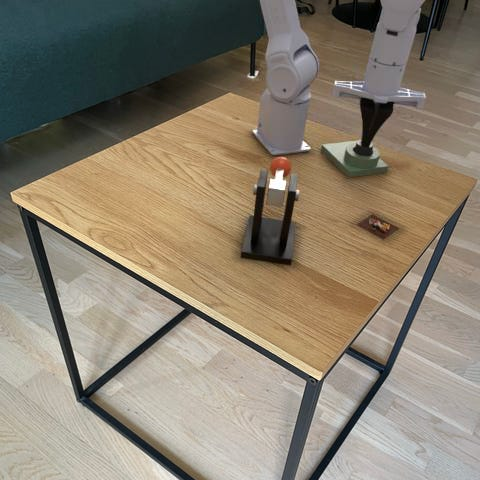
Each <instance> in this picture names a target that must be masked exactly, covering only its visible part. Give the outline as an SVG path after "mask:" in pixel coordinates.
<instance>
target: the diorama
mask: <svg viewBox="0 0 480 480" xmlns="http://www.w3.org/2000/svg"><path fill="white" fill-rule="evenodd" d="M355 225H356V226H357V227H360V228H362V229H363V230H365V231H367V232H369V233H371V234H372V235H374V236H376V237H378V238H380V239H382V240H383V241H384V240H386V239H387V238H388V237H390V236H392V235H393V234H394V233H396V232H397V231H398V230H400V229H401V228H399V227H398V226H396V225H394V224H393V223H390V222H388V221H386V219H385V220H384V219H383V218H382V217H379V216H377V215H375V214H373V213H372V214H370V215H368V216H367V217H366V218H364V219H362V220H361V221H359V222H358V223H356V224H355Z"/></svg>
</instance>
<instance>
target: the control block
mask: <svg viewBox="0 0 480 480" xmlns="http://www.w3.org/2000/svg"><path fill="white" fill-rule="evenodd" d="M357 141H358V140H349V141H341V142H332V143H326V144H322V145H321V148H320V152H321V153H323V154H324V155H325V157H327V159H329V161H331V162H332V163H333V164H334V166H336V167H337V168H338V170H340V171H341V172H342V173H343V174H344V175H345V176H346V177H347V178H355V177H361V176H362V177H364V176H371V175H377V174H383V173H387V172H388V170H389V165H388V164H387V163H386V162H385V161H383V160H382V159H381V158H380V157H381V152H380V150H379V149H378V148H376V147H375V146H373V150H372V153H371V156H362V155H358V154H356V153H355V152H354V150H355V146H356V142H357Z"/></svg>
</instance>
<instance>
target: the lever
mask: <svg viewBox="0 0 480 480" xmlns="http://www.w3.org/2000/svg"><path fill="white" fill-rule="evenodd" d="M269 170H270V173H271V175H272V176H273V177H274V178H270V179H269V182H268V188H267V194H266V200H265V201H266V202H265V204H266V205H267V206H274V207H281V208H282V207H283V206H284V200H285V194H286V187H287V180H283V179H285V178H287V177H288V176H289V175H290V174H291V172H292V171H291V170H292V164H291V161H290V160H289V159H287V158H286V157H284V156H277V157H275V158H274V159H273V160H272V161H271V163H270V167H269Z"/></svg>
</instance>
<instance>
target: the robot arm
mask: <svg viewBox="0 0 480 480" xmlns="http://www.w3.org/2000/svg"><path fill="white" fill-rule="evenodd" d="M425 1H426V0H380V5H381V7H382V8H381V11H380V16H379V21H378V23H377V25H376V28H375V32H374V37H373V41H372V45H371V49H370V52H369V57H368V61H367V65H366V69H365V73H364V78H363V81H340V80H335V81H334V84H333V89H332V93H331V94H332V98H334V99H339V98H347V99H353V100H359V109H360V115H361V122H362V124H361V125H362V128H361V129H362V130H361V139H360V140H361V145H362V146H368V147H369V146H370V144H371V142H372V143H373V140H374V138H375V136H376V135H377V133H378V131H379V130H380V129H381V127H383V125H384V124H385V122H387V120H388V119H389V118H390V117H391V116H392V114H393V113H394V105H398V106H399V105H400V106H405V107H414V109H416V110H423V108H424V105H425V103H426V101H427V95H426V93H425V92H422V91H416V90H412V89H408V88H404V87H401V84H402V81H403V76H404V74H405V71H406V66H407V64H408V61H409V57H410V54H411V50H412V46H413V44H414V40H415V36H416V33H417V25H418V23H419V21H420V17H421V11H422V8H421V7H422V5H423V4H424V3H425ZM259 4H260V8H261V13H262V16H263V20H264V25H265V28H266V32H267V38H268V42H267V47H266V51H265V56H264V59H265V64H266V75H265V85H266V89H265V90H264V91H263V93H262V94H261V96H260V100H259V109H258V117H257V125H256V126H257V127H256V129H253V130H252V134H253V136H255V138H256V139H257V140H258V141H259V143H260V144H262V146H263V147H264V148H265V150H267V151H268V153H270V155H271V156H279V155H289V154H297V153H303V152H310V151H311V150H312V148H311V147H310V145H308V144H307V142H305V141H304V136H305V129H306V125H307V119H308V113H309V107H310V102H311V97H312V92H311V87H310V86H311V84H313V83H314V82H315V80H316V79H317V77H318V75H319V72H320V61H319V58H318V56H317V54H316V53H315V52H314V50H313V48H312V46H311V44H310V39H309V36H308V35H307V34H306V32H305V31H304V30H303V29H302V28H301V23H300V18H299V17H300V16H299V13H298V8H297V3H296V0H259Z"/></svg>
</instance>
